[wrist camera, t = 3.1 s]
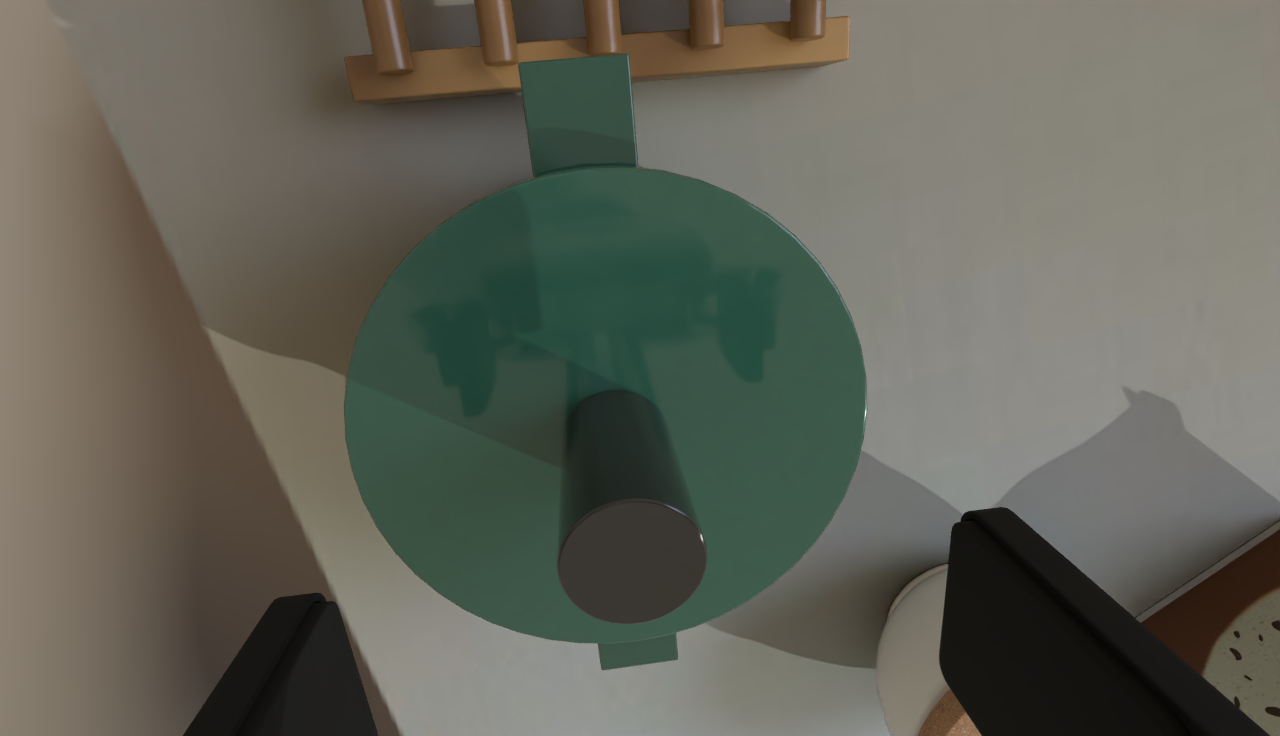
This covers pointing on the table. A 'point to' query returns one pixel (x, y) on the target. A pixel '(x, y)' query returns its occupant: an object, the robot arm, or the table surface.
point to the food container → (1231, 627)
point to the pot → (582, 137)
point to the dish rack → (587, 49)
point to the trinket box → (918, 664)
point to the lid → (605, 404)
